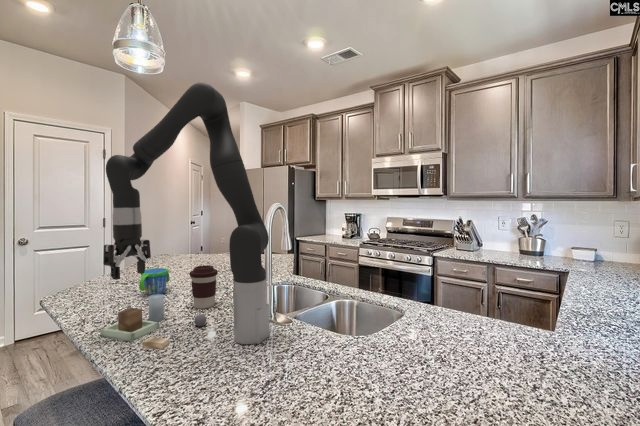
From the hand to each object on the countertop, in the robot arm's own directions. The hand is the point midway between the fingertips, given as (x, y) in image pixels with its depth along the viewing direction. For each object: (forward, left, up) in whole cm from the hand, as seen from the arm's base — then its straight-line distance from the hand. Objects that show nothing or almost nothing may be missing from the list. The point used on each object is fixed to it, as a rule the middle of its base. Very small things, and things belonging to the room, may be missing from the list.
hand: (129, 276), depth 100 cm
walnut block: (0, 0, -17) cm, 17 cm away
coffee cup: (-5, -28, -17) cm, 33 cm away
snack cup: (+26, -35, -18) cm, 47 cm away
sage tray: (0, 0, -17) cm, 17 cm away
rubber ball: (-17, -11, -15) cm, 25 cm away
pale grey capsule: (+1, -11, -17) cm, 21 cm away
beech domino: (-15, +5, -18) cm, 24 cm away
